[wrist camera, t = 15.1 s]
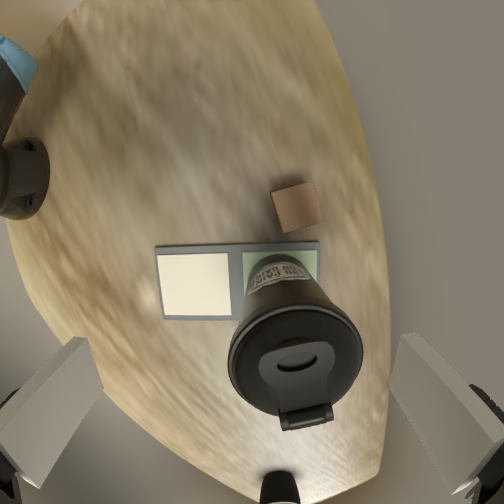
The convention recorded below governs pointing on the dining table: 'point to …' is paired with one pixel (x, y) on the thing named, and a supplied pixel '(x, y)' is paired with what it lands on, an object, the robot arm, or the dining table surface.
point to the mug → (279, 489)
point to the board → (218, 276)
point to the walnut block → (296, 207)
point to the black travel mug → (292, 346)
